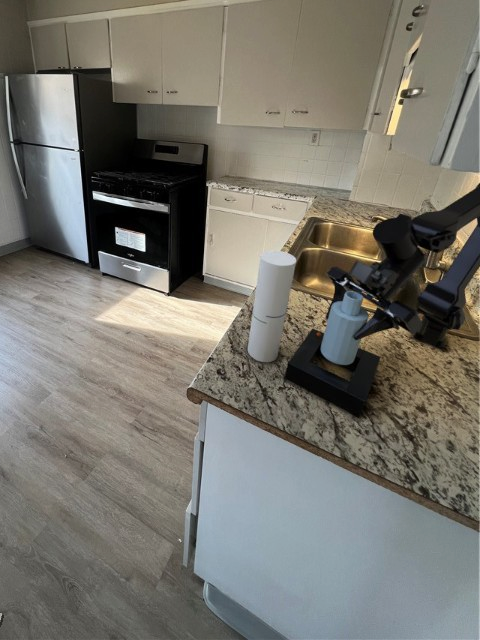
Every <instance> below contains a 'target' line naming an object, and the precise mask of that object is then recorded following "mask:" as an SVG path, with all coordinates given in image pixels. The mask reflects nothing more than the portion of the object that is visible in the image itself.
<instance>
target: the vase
mask: <svg viewBox="0 0 480 640" xmlns="http://www.w3.org/2000/svg"><path fill="white" fill-rule="evenodd" d="M364 300H365V299H364V297H363V296H362V295H361V294H359V293H357V292H354V291H347V292H346V293H345V295H344V299H343V301H338V302H335V303H333V305H332V306H331V310H330V314H329V318H328V319H327V322H326V326H325V329H324V332H323V333H324V337H323V340H322V344H321V352H322V354H323V356H324V357H325V358H327V359H328V360H329V361H331V362H330V363H332V362H333V363H332V364H334V363H336V364H340V365H348V364H351V363H352V362H353V361H354V359H355V356H356V353H357V350H358V347H359V348H360V344H361V341H362V338H361V339H359V340H355V339H354V338H353V337H354V335H355V334H356V333H357V331H358V330H359V329H360V328H361V327H362V326H363V325H365V324H366V323H367V322H368V321H369V317H370V315H369V313H368V311H367V310H366V309H365V308H364V307H362V305H363V302H364ZM329 361H328V362H329ZM336 364H335V365H336Z"/></svg>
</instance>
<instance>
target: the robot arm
mask: <svg viewBox="0 0 480 640" xmlns="http://www.w3.org/2000/svg"><path fill="white" fill-rule="evenodd" d="M475 220H476V223H477V224H476V226H475V227H474V229H473V230H472V232H471V233H470V235H469V237H468V238H467V240H466V241H465V243H464V244H463V246H462V247H461V249H460V250H459V252H458V254H457V255H456V257H455V258H454V260H453V261H452V263H451V264H450V266H449V267H448V269H447V271H446V272H445V274H444V275H443V276H442V278H441V279H439V280H438V281H435V282H433V283H432V282H430V283H428V284H427V285H426V286H425V288H424V290H423V291H422V292H420V293H419V295H418V296H417V298H416V304H415V309H414V308H412V307H411V306H409V305H407V304H405V303H403V302H401V301H400V300H398V299H397V300H394V301H391V298H392V297H393V296H394V295H395V294H397V292H398V291H399V290H400V291H403V290H404V289H406V285H405V284H406V282H408V280H409V279H410V278H411V277H412V276H413V275H414V274H415V273H416V272H417V271H418V270H419V269H420V268H423V269H426V267H427V264H428V262H427V257H428V256H427V253H424V251H423V250H422V249H424V250H427V251H430V252H432V253H436V254H439V253H441V252H443V251H445V250H448V249H449V248H451V246H452V245H453V244H454V243H455V242H456V241H457V235H458V232H459V231H460V230H461V229H463V228H464V227H466V226H467V225H469V224H470V223H472V222H473V221H475ZM372 236H373V238H374V240H375V243H376V244H377V246H378V248H379V250H380V252H381V254H382V255H383V256H384V257H383V259H381V261H380V262H377V261H374V262H372V263H371V264H370V265H368V264H366V263H364V262H361V261H359V260H358V259H357V260H355V261H354V263H353V265H352V267H351V268H350V270H349V271H346V270H344V269H342V268H340V267H339V266H337V265H336V266H331V267H330V268H329V269H328V270H327V271H326V272H325V275H326V276H327V278H328V279H329V280H330V282H331V284H332V285H333V286H334V292H333V297H332V299H331V302H330V304H329V308H328V309H327V312H326V314H325V318H326V319H327V320H328V318H329V314H330V310H331V306H332V305H333V303H335V302H338V301H343V299H344V295H345V293H346V292H347V291H354V292H357V293H359V294H361V295H362V296H363V297H364V299H363V300H365V301H368V302H369V303H371V304H372V305H374V306H376V308H375V311H374V313H373V315H372V316H371V317H370V319H368V320H367V323H366V324H365V325H363V326H362V327H361V328H360V329H359V330H358V331H357V333H356V334H355V335H354V337H353V338H354V339H355V340H359V339H361V340H362V339H364V338H366V337H369V336H372V335H374V334H377V333H380V332H383V331H387V330H391V329H395V330H396V331H399V330H400V328H402V329H403V330H405V331H406V332H408V333H409V334H411V335H413V337H412V339H414V340H417V341H419V342H422V343H425V344H427V345H429V346H433V347H436V348H438V349H442V350H444V349H445V348H446V347H445V346H446V335H447V334H448V332H449V331H452V330H456V331H459V330H460V329H461V327H462V325H464V323H465V321H466V319H467V317H466V315H465V312H464V307H465V305H466V304H467V296H466V289H467V287H468V285H469V283H470V282H471V281H472V279H473V278H474V276H475V275H476V274H477V272H478V271H479V269H480V182H479V183H478V184H477V185H476V186H475V188H474V189H472V190H471V191H469V192H467V193H466V194H464V195H462V196H461V197H459V198H457V199H456V200H455V201H453V202H451V203H449V204H448V205H447V206H446V207H444V208H442V209H440V210H435V211H433V210H432V211H426V212H423V213H420V214H419V215H416V216H415V217H412V216H410V215H407V214H404V213H399V214H398V215H397V216H396V217H390V218H386V219H384V220H382V221H380V222H377V224H375V226H374V227H373V229H372ZM421 248H422V249H421ZM354 278H355V279H354ZM355 280H356V281H355ZM419 314H421V315H422V318H420V315H419Z"/></svg>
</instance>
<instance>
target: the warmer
mask: <svg viewBox="0 0 480 640" xmlns="http://www.w3.org/2000/svg"><path fill="white" fill-rule="evenodd" d="M324 333H325V332H322V331H320V330H317V329H316V328H313V327H312V328H311V330H310V331H309V333H308V334H307V336H306V337H305V338H304V339H303V341H302V342H301V344H300V345H299V347H298V348H297V349H296V351H295V352H294V353H293V355H292V356H291V358H290V359H289V361H288V362H287V365H286V370H285V374H284V379H285V380H287V381H289V382H291V384H294V385H296V386H298V387H300V388H301V389H304V390H305V391H307V392H309V393H311V394H313V395H315V396H317V397H318V398H321V399H322V400H324V401H326V402H328V403H329V404H332V405H333V406H335V407H337V408H339V409H341V410H342V411H344V412H346V413H349V414H350V415H352V416H354V417H357V418H358V419H359V418H360V417H361V415H362V411H363V409H364V406H365V404H366V402H367V399H368V395H369V394H370V393H369V392H370V390H371V386H372V383H373V381H374V378H375V375H376V373H377V369H378V367H379V364H380V361H381V356H380V355H377V354H375V353H373V352H370V351H368V350H365V349H363V348H361V347H360V346H359V347H358V350H357V353H356V356H355V359H354V361H353V362H352V363H351V364H348V365H340V364H336V363H333V362H331V361H329V360H328V359H327V358H325V357H324V356H323V354H322V352H321V344H322V340H323V337H324ZM318 358H321V359H323V360H325V361H328V362H329V363H332V364H334V365H336V366H338V367H340V368H343V369H345V370H347V371H349V372H351V373H352V377H351V379H350V380H349V379H347V378H345V377H343V376H341V375H339V374H337V373H334V372H332V371H330V370H328V369H326V368H324V367H322V366H320V365H318V364H316V363H315V362H316V361H317V359H318Z"/></svg>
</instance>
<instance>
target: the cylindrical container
mask: <svg viewBox="0 0 480 640" xmlns="http://www.w3.org/2000/svg"><path fill="white" fill-rule="evenodd" d="M296 264H297V258H296V257H295V256H294V255H293V254H291V253H288V252H285V251H281V250H265V251H263V252H262V253H260V259H259V264H258V265H259V267H258V273H257V279H256V287H255V294H254V299H253V300H254V301H253V307H252V315H251V322H250V329H249V336H248V344H247V352H248V353H247V354H248V355H249V356H250V357H251V358H252V359H254V360H255V361H258V362H260V363H272V362H274V361H276V360H277V359H278V356H279V352H280V348H281V347H280V346H281V341H282V336H283V331H284V325H285V322H286V317H287V310H288V305H289V301H290V296H291V295H290V294H291V290H292V285H293V280H294V276H295V275H294V274H295V270H296Z"/></svg>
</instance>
